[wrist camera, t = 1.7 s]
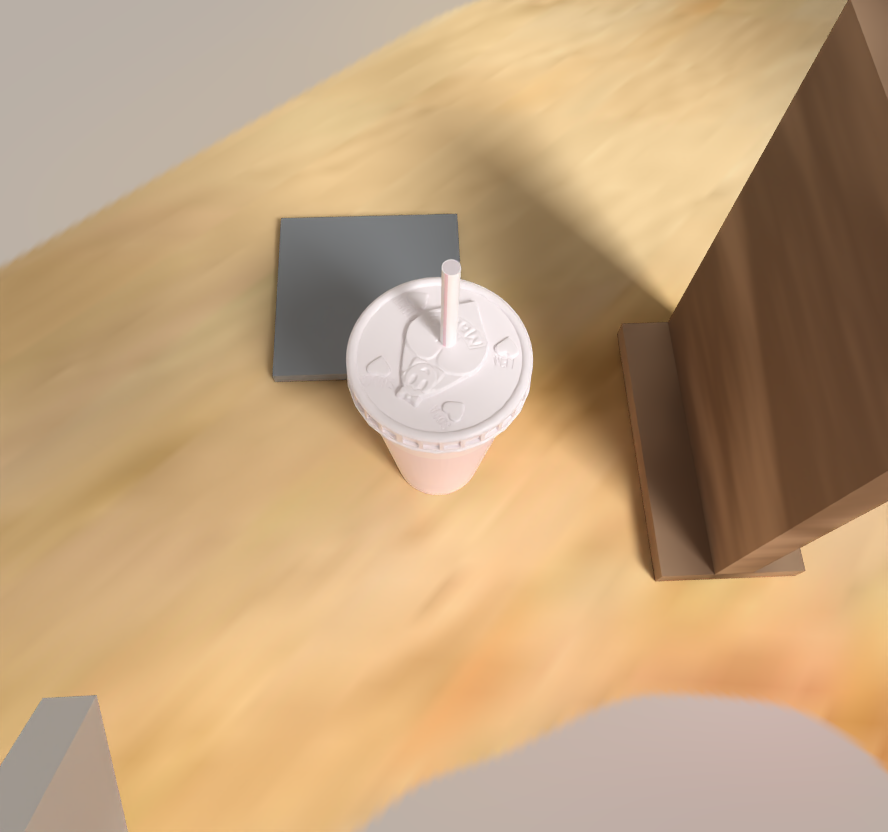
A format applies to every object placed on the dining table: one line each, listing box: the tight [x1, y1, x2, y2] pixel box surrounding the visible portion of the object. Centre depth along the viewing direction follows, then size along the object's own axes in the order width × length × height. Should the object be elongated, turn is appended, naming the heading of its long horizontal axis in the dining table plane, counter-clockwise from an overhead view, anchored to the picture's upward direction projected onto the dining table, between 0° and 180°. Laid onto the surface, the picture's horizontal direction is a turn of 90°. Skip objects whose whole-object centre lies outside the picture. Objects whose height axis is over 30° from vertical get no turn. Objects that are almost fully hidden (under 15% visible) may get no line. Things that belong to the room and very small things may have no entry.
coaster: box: [273, 214, 461, 382], centre depth 37 cm, size 9×9×1 cm
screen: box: [617, 0, 888, 581], centre depth 26 cm, size 6×12×18 cm, turn 2°
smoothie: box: [346, 259, 533, 495], centre depth 28 cm, size 6×6×14 cm
